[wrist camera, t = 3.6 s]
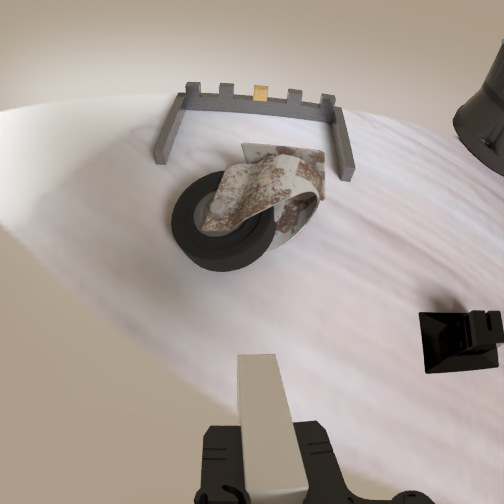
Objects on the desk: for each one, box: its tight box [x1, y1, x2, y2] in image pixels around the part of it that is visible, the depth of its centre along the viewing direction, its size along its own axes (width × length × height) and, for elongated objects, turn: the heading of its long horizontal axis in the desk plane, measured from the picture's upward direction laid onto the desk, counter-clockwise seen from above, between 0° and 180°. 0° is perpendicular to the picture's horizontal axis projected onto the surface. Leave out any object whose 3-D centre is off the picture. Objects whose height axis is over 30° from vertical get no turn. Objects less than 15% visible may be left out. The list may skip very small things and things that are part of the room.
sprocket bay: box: [154, 82, 355, 182], centre depth 33 cm, size 20×11×4 cm, turn 86°
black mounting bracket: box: [419, 310, 504, 374], centre depth 22 cm, size 12×7×5 cm, turn 85°
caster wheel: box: [171, 143, 325, 272], centre depth 26 cm, size 7×11×10 cm
